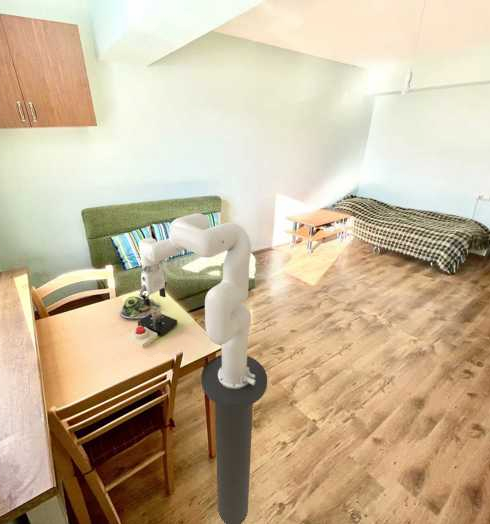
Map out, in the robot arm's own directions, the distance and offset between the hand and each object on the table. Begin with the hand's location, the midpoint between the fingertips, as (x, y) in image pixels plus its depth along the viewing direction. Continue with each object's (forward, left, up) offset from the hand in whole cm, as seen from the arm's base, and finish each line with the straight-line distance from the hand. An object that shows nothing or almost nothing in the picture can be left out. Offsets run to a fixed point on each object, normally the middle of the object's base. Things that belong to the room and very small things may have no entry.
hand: (155, 301), depth 127 cm
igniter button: (-1, +11, -10) cm, 15 cm away
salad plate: (+18, -4, -13) cm, 23 cm away
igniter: (-1, +11, -14) cm, 17 cm away
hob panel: (0, 0, -14) cm, 14 cm away
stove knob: (0, 0, -11) cm, 11 cm away
